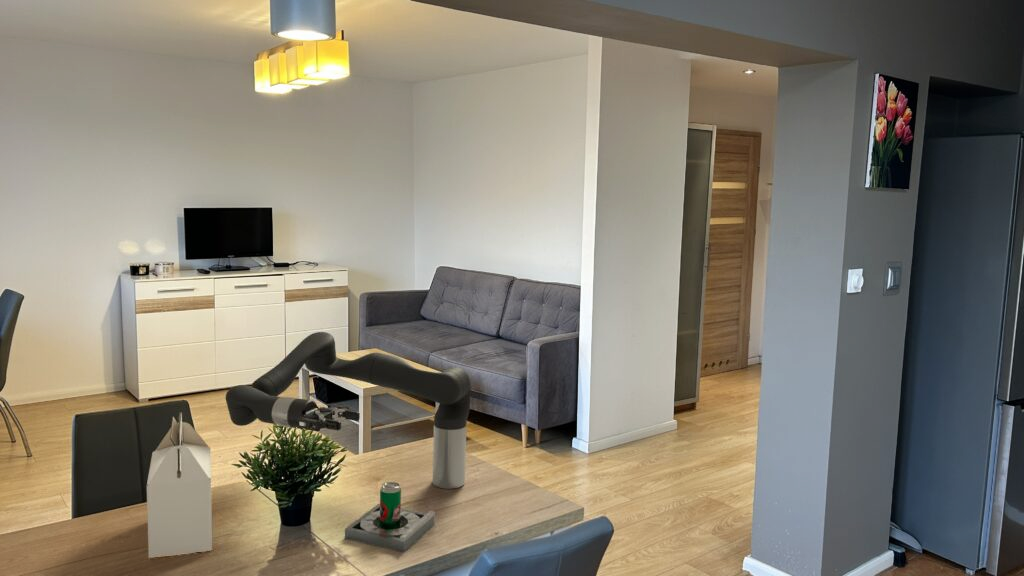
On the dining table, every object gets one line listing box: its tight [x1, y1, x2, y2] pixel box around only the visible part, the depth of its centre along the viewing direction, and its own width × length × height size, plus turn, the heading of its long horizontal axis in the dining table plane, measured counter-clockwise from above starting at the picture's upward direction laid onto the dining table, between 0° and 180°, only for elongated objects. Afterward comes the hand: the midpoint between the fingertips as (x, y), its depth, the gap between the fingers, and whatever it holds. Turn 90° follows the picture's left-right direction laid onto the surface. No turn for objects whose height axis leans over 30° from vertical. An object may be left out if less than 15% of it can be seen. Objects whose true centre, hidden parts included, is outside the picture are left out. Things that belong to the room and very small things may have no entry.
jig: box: [344, 503, 435, 553], centre depth 193 cm, size 16×16×4 cm
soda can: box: [378, 481, 402, 530], centre depth 192 cm, size 5×5×12 cm
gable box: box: [146, 412, 213, 558], centre depth 185 cm, size 22×13×28 cm, turn 21°
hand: (349, 421), depth 195 cm, fingers open, 8 cm apart
